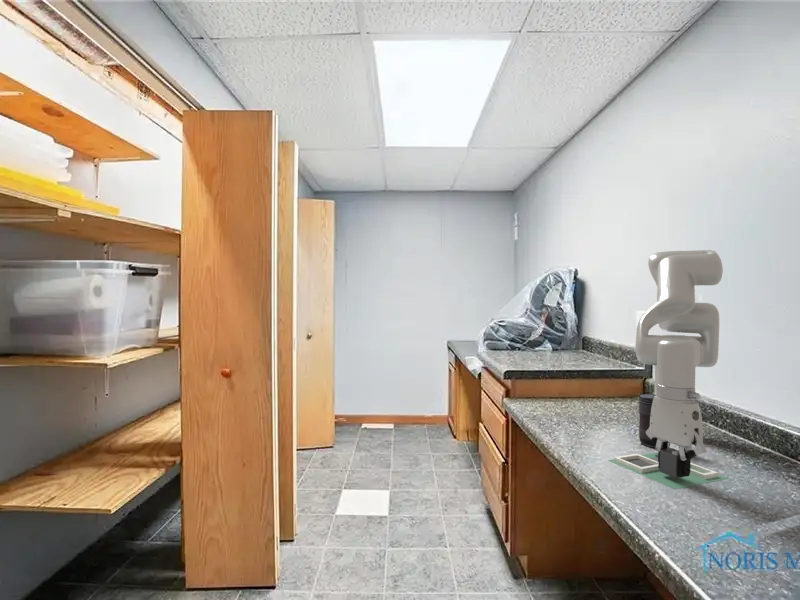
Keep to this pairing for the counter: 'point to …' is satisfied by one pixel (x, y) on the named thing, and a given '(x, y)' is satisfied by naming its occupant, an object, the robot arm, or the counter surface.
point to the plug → (669, 462)
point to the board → (649, 469)
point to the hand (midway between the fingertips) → (673, 471)
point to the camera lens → (645, 419)
